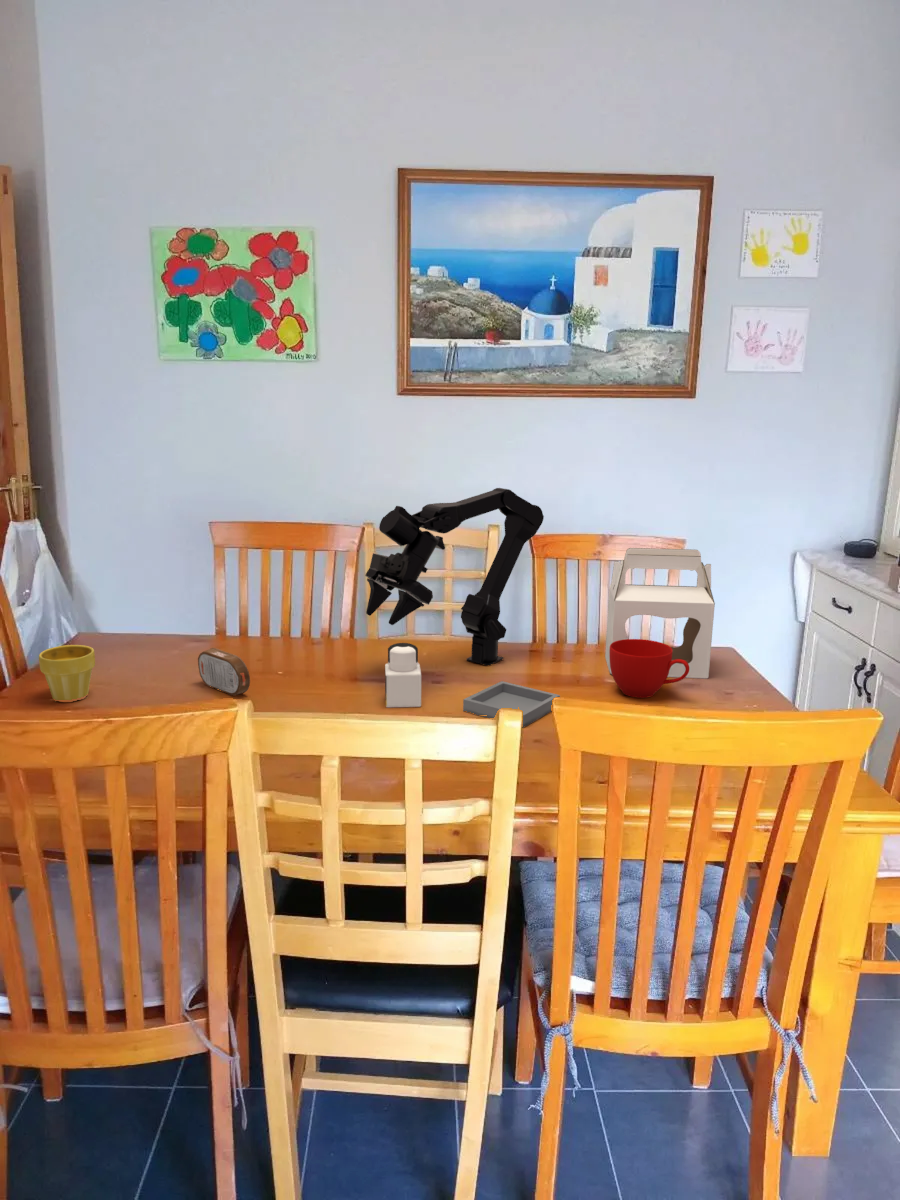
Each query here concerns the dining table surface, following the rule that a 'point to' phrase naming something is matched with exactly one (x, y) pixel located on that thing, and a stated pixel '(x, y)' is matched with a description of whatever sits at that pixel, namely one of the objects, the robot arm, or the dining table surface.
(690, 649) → the gable box
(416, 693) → the medicine bottle
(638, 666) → the ceramic cup
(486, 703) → the slate tray
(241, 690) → the tin
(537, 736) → the dining table surface
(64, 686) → the plant pot
